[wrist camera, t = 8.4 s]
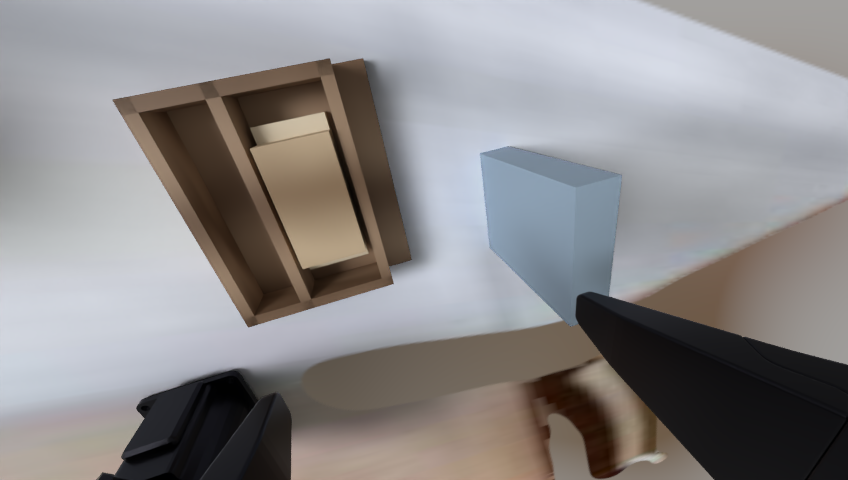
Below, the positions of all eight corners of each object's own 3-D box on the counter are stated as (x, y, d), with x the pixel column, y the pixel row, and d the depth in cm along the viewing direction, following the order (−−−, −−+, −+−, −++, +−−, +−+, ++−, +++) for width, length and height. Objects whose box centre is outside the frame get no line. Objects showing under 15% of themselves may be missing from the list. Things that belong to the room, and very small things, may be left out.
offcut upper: (364, 241, 18) (366, 251, 17) (305, 258, 17) (302, 269, 16) (329, 129, 15) (328, 131, 14) (256, 145, 14) (249, 148, 13)
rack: (409, 256, 21) (418, 276, 19) (247, 302, 20) (233, 331, 17) (362, 60, 16) (365, 51, 13) (133, 104, 14) (89, 103, 12)
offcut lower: (367, 244, 19) (368, 253, 18) (312, 259, 19) (310, 269, 18) (325, 111, 16) (324, 111, 15) (256, 126, 15) (249, 127, 14)
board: (514, 240, 23) (606, 314, 15) (489, 247, 22) (570, 326, 14) (508, 146, 20) (621, 175, 12) (480, 153, 19) (576, 187, 11)
